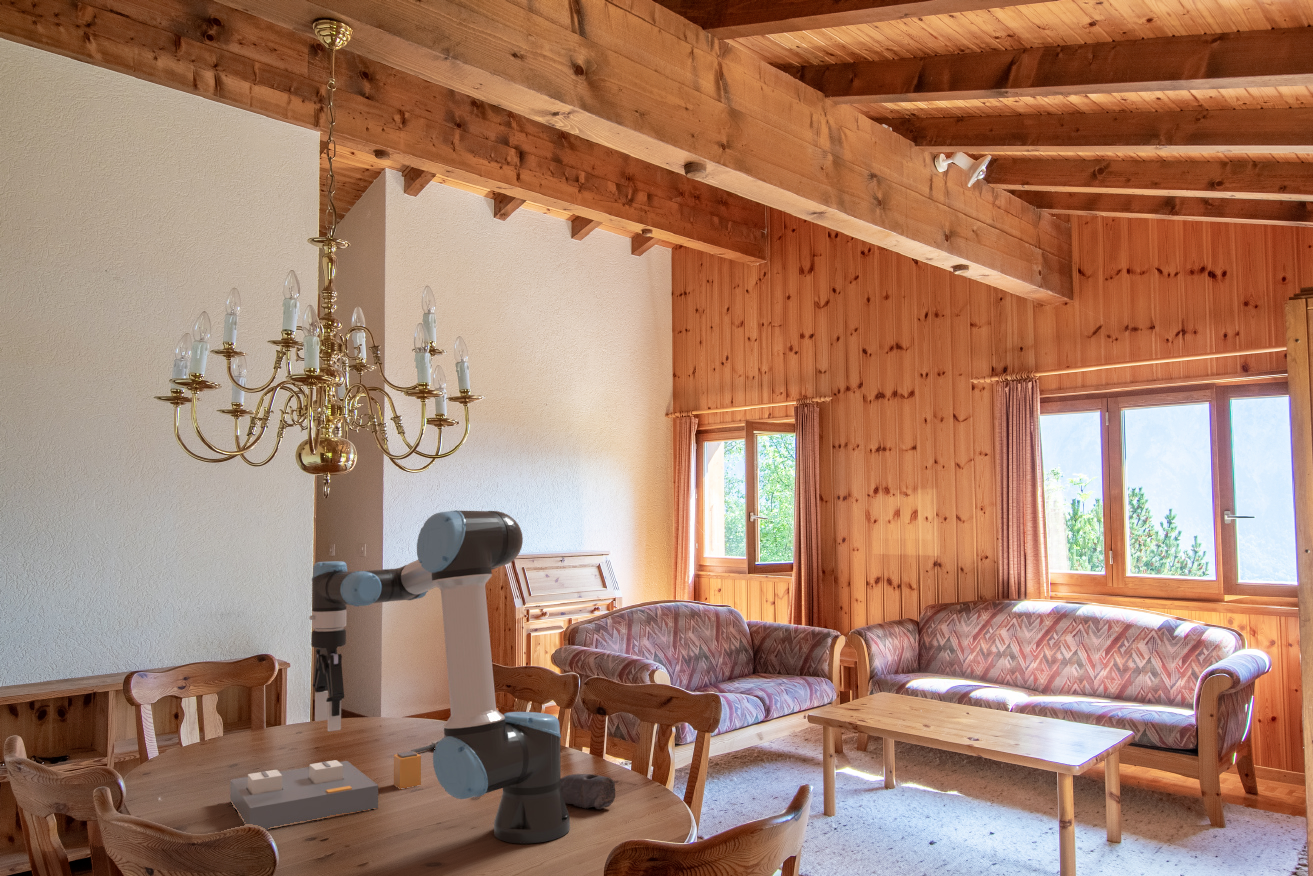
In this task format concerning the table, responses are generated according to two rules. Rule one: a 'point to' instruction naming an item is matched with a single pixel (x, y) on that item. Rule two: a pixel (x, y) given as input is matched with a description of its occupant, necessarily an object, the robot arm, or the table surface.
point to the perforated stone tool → (588, 790)
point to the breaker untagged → (264, 782)
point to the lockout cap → (407, 769)
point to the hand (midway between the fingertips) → (327, 725)
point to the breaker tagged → (325, 772)
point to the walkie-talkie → (426, 747)
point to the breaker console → (304, 797)
